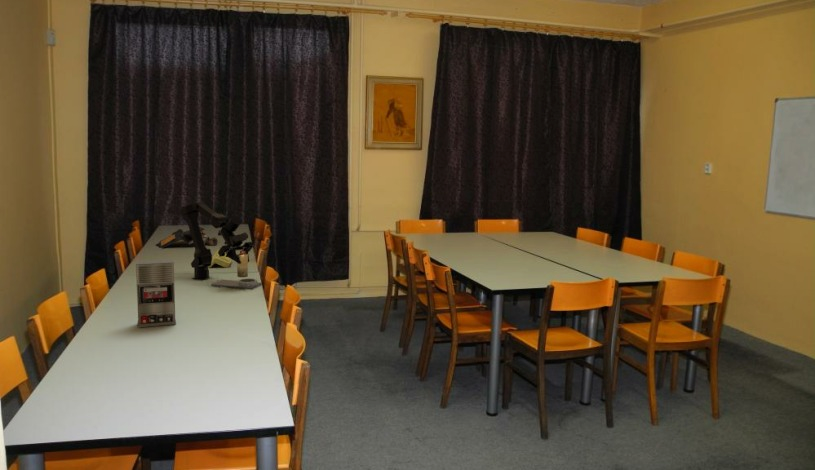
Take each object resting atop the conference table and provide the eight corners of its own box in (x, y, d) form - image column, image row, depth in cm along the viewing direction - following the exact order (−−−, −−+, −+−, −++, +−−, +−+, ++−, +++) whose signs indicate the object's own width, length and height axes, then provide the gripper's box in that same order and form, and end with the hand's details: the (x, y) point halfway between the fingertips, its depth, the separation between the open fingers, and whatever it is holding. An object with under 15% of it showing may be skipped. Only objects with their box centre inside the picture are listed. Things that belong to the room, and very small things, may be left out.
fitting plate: (211, 286, 313) (210, 280, 313) (221, 281, 324) (221, 275, 324) (252, 289, 309) (252, 283, 309) (261, 284, 320) (261, 278, 319)
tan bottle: (235, 277, 308) (235, 251, 306) (239, 274, 312) (239, 250, 310) (246, 277, 307) (246, 252, 305) (249, 275, 312) (249, 250, 310)
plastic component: (230, 264, 356) (213, 256, 353) (224, 275, 357) (207, 268, 354) (232, 254, 375) (216, 247, 372) (226, 265, 376) (210, 258, 373)
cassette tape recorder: (138, 328, 244) (135, 265, 240) (137, 323, 250) (135, 261, 246) (175, 325, 250) (174, 263, 246) (174, 320, 255) (173, 260, 251)
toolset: (161, 249, 401) (149, 220, 414) (161, 269, 414) (149, 240, 428) (223, 236, 422) (209, 209, 436) (221, 255, 436) (207, 228, 449)
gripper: (221, 229, 301) (237, 255, 296) (252, 225, 316) (267, 250, 311) (211, 243, 306) (226, 269, 302) (241, 238, 322) (256, 263, 317)
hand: (244, 262), depth 308 cm, fingers closed on tan bottle, 5 cm apart
